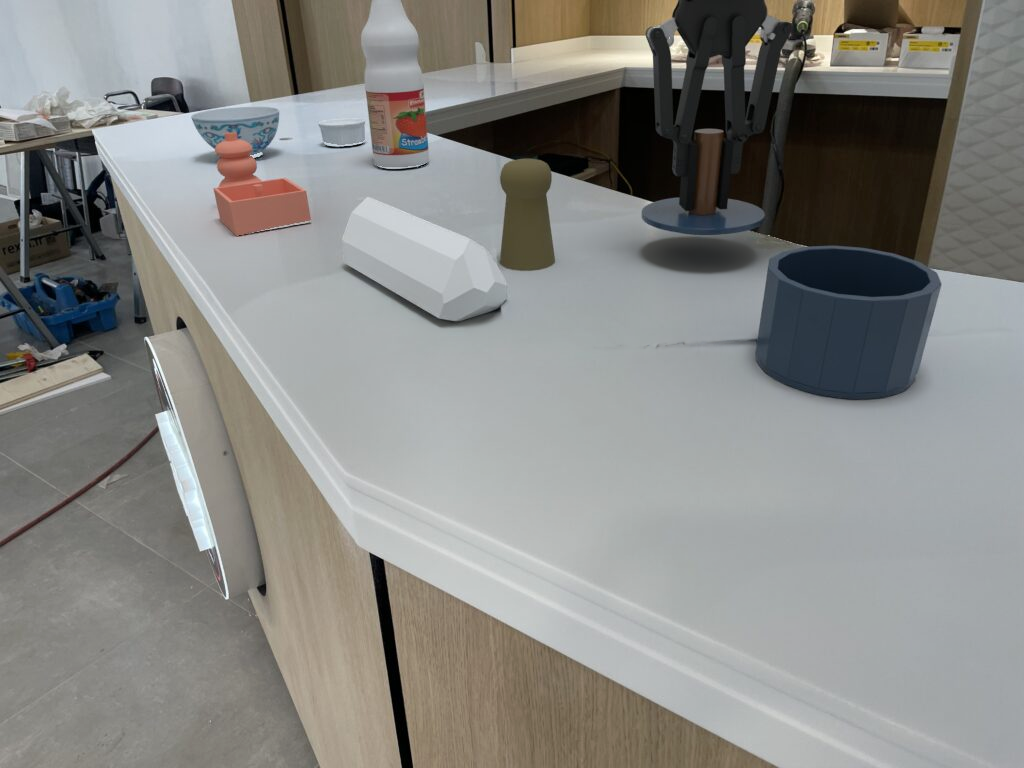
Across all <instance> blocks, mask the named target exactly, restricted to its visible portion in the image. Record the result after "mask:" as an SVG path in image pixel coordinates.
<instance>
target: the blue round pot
mask: <svg viewBox="0 0 1024 768" xmlns="http://www.w3.org/2000/svg"><path fill="white" fill-rule="evenodd" d="M766 272H767V273H766V277H765V286H764V291H763V299H762V305H761V313H760V320H759V326H758V332H757V333H758V334H757V340H756V347H755V359H756V362H757V364H758V366H759V367H760V368H761V369H762V370H763V371H764V372H765V373H766V374H768V375H769V376H770V377H771V378H773V379H775V380H777V381H779V382H780V383H782V384H784V385H786V386H789V387H791V388H794V389H797V390H800V391H802V392H803V391H804V392H807V393H809V394H810V393H811V394H814V395H817V396H818V395H819V396H823V397H830V398H836V399H846V400H872V399H881V398H887V397H891V396H894V395H897V394H900V393H902V392H903V391H905V390H907V389H908V388H910V387H911V386H912V385H913V383H914V382H915V379H916V376H917V374H918V373H919V370H920V366H921V363H922V360H923V355H924V351H925V347H926V345H927V344H926V343H927V340H928V337H929V332H930V329H931V325H932V322H933V317H934V314H935V311H936V307H937V303H938V300H939V295H940V293H941V290H942V289H941V288H942V281H941V279H940V276H939V274H938V272H937V271H935V270H934V269H932V268H930V267H928V266H927V265H925V264H924V263H923V262H920V261H917V260H914V259H912V258H909V257H905V256H903V255H899V254H897V253H893V252H886V251H882V250H876V249H872V248H866V247H857V246H844V245H817V246H816V245H815V246H814V245H813V246H803V247H797V248H793V249H788V250H782V251H781V252H779V253H777V254H775V255H774V256H772V257H770V258H769V260H768V265H767V271H766Z"/></svg>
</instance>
